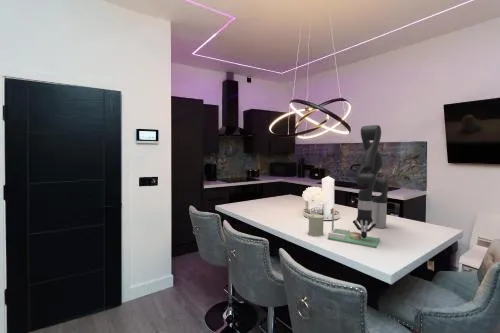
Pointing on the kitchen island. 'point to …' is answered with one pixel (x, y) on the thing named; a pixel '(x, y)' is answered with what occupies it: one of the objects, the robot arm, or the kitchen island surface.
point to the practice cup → (337, 230)
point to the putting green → (359, 241)
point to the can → (316, 225)
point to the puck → (355, 235)
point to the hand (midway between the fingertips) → (363, 237)
